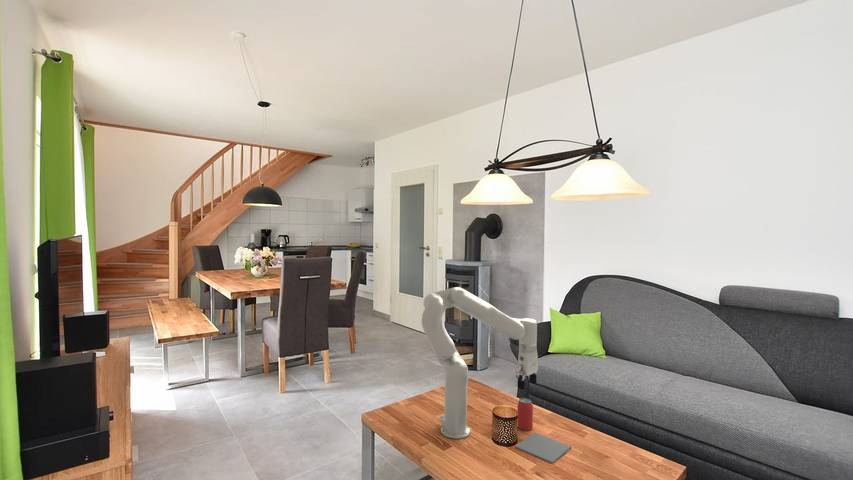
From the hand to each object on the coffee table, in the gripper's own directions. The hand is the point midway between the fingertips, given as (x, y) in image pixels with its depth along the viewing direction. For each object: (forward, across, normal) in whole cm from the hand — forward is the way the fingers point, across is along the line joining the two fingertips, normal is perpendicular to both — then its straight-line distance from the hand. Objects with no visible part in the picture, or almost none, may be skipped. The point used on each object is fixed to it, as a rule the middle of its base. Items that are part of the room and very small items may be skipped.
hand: (527, 386), depth 177 cm
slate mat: (+18, -10, -14) cm, 25 cm away
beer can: (+19, 0, +1) cm, 19 cm away
